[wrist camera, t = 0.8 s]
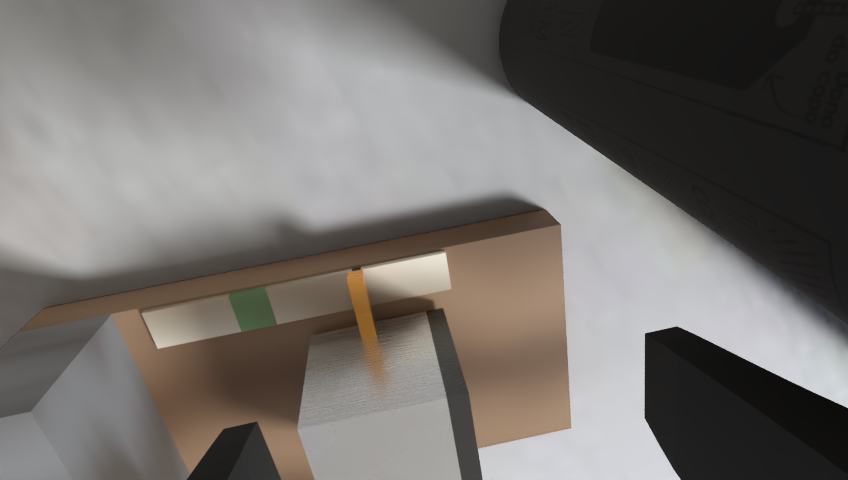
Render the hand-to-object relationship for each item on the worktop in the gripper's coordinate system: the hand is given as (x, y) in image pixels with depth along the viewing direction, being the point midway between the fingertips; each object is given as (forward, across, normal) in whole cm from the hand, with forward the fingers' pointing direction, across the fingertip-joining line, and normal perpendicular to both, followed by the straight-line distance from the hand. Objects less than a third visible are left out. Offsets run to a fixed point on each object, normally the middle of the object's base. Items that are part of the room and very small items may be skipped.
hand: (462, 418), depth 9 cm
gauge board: (+10, +4, +5) cm, 12 cm away
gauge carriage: (+8, +2, +4) cm, 9 cm away
